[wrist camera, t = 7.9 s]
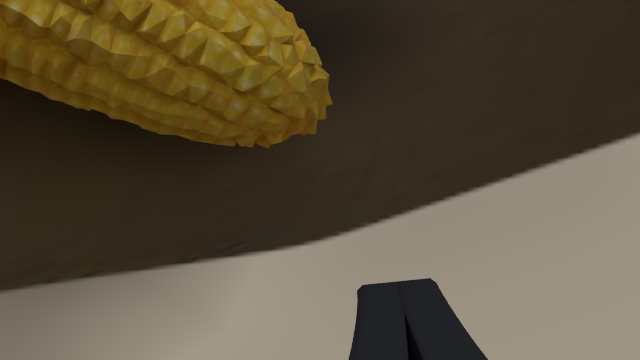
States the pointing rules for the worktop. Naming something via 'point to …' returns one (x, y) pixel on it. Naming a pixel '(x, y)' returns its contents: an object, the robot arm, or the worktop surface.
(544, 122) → the worktop surface
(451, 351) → the robot arm
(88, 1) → the food
